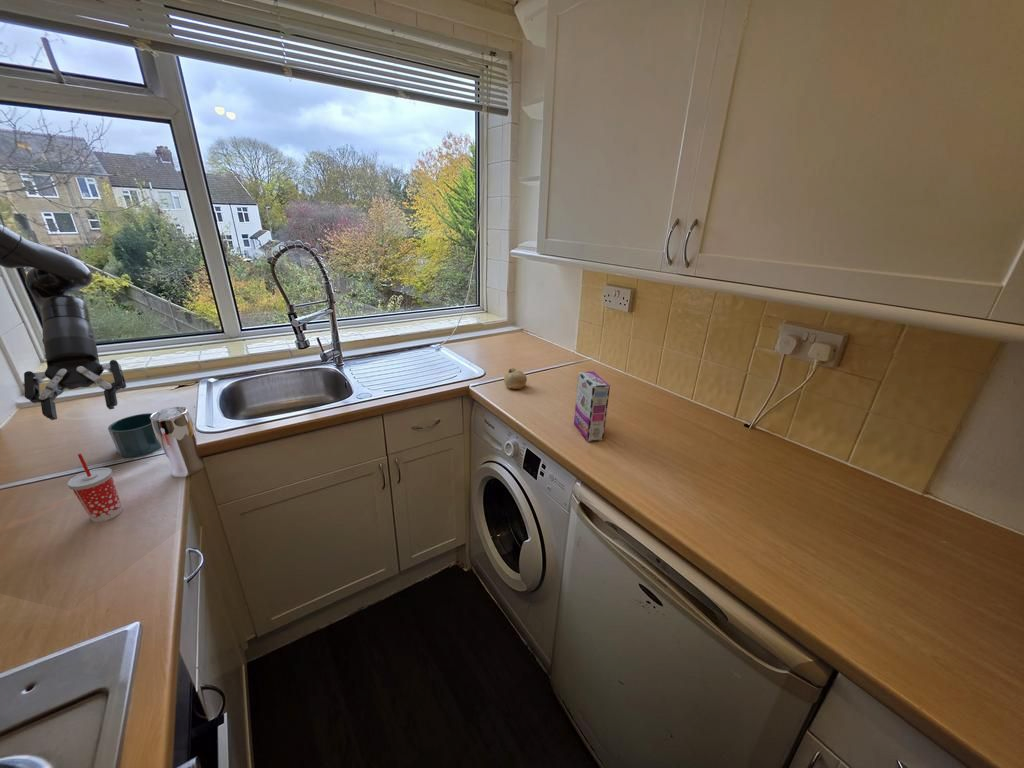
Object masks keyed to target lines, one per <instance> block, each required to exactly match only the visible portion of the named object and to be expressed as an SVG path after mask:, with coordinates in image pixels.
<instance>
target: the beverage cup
mask: <svg viewBox="0 0 1024 768" xmlns="http://www.w3.org/2000/svg"><path fill="white" fill-rule="evenodd" d="M77 457H78V458H79V461H80V464H81V465H82V467H83V469H84V471H83V472H81V473H79V474H77V475H74V476H73V477H72V478H70V480H68V481H67V487H69V489H70V490H72V491H73V493H74V495H75V496H76V497H77V499H78V501H79V502H80V505H81V506H82V507H83V509H84V510H85V512H86V514H87V515H88V517H89V518H90V520H91V521H92V522H93V523H101V522H106V521H108V520H112V519H113V518H116V517H117V516H119V515H120V514H121V513H122V512H123V510H124V509H123V506H122V502H121V500H120V496H119V494H118V491H117V487H116V485H115V481H114V479H113V471H112V469H111V468H109V467H99V468H93V469H90V470H89V467H88V465H87V463H86V462H85V459H84V457H83V455H82V453H78V454H77Z"/></svg>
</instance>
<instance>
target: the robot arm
mask: <svg viewBox="0 0 1024 768" xmlns="http://www.w3.org/2000/svg"><path fill="white" fill-rule="evenodd" d="M0 267H3V268H5V269H19V268H20V269H21V268H30V270H29V271H28V272H27V273H26V275H25V285H26V288H27V289H28V291H29V293H30V294H31V296H32V298H33V299H34V301H35V303H36V304H37V305H38V307H39V309H40V315H41V323H42V332H41V333H42V340H41V341H42V344H43V348H44V355H45V362H46V370H45V371H40V372H33V371H31V370H27V371H25V372H24V373H23V382H24V383H23V384H24V385H23V387H24V398H25V399H26V400H27V401H30V402H31V403H33V404H37V403H39V404H40V405H41V406H40V407H41V413H42V416H44V417H45V418H47V419H49V420H51V421H55V420H58V414H57V408H56V407H57V406H56V403H55V402H54V401H55V400H56V399H57V397H58V396H60V395H62V394H63V393H64V392H65V391H66V389H67V390H70V391H71V390H75V389H78V388H89V387H91V386H92V385H95V386H97V387H99V388H100V389H102V390H103V395H104V400H105V405H106V408H107V409H108V410H115V407H116V406H118V399H117V391H119V390H123V389H126V388H127V383H126V380H125V376H124V372H123V370H122V366H121V365H120V363H119V362H118V361H117V360H116V359H112V360H109V362H107V363H100V358H99V353H98V348H97V347H98V346H97V341H96V336H95V331H94V330H93V327H92V322H91V318H90V311H89V308H88V306H87V303H85V301H84V300H82V299H81V298H79V297H77V296H72V295H71V294H73V293H75V292H77V291H80V290H82V289H85V288H86V287H88V286H90V285H91V284H92V282H93V278H94V277H93V274H92V272H91V270H90V269H89V268H88V267H87V266H86V265H85V264H84V263H83V262H81V261H80V260H78V259H77V258H75V257H74V256H71V255H69V254H68V253H67V254H66V253H64V252H62V251H59V250H56V249H54V248H51V247H49V246H45V245H43V244H40V243H38V242H34V241H31V240H29V239H27V238H25V237H23V236H22V235H20V234H19V233H17V232H16V231H13V230H12V229H10V228H9V227H7V226H5V225H3V224H2V223H0ZM105 370H106V371H107V372H108V373H110V374H112V376H113V380H114V381H113V382H111V383H109V382H107V381H106V380H105V379H103V378H102V377H100V376H102V373H103V372H104V371H105ZM45 379H48V380H50V381H49V382H48V383H47V384H46V385H45V389H44V390H43V391H42V392H41V391H40V384H42V383H43V382H44V380H45ZM40 392H41V393H40Z"/></svg>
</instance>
